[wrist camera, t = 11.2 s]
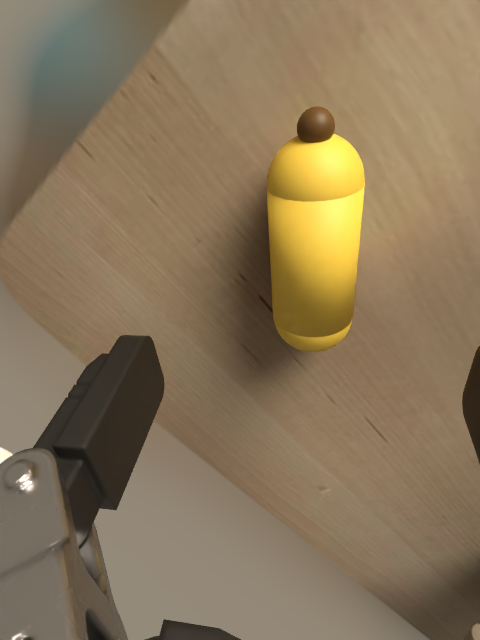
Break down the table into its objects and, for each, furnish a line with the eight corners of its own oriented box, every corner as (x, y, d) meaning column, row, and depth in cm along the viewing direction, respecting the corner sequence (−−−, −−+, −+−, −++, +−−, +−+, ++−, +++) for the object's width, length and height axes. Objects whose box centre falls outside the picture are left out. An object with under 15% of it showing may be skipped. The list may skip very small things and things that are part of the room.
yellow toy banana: (348, 321, 20) (352, 370, 17) (277, 320, 21) (271, 366, 18) (366, 92, 14) (377, 113, 12) (268, 100, 15) (256, 120, 12)
